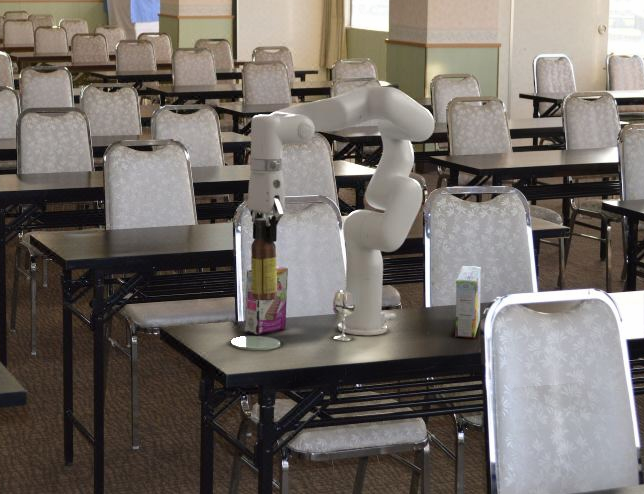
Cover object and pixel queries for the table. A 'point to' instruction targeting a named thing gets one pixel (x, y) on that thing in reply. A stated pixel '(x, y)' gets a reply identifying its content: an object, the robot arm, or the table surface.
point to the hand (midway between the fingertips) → (264, 239)
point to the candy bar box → (266, 307)
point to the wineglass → (343, 308)
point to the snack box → (468, 301)
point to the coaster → (255, 343)
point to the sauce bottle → (263, 265)
